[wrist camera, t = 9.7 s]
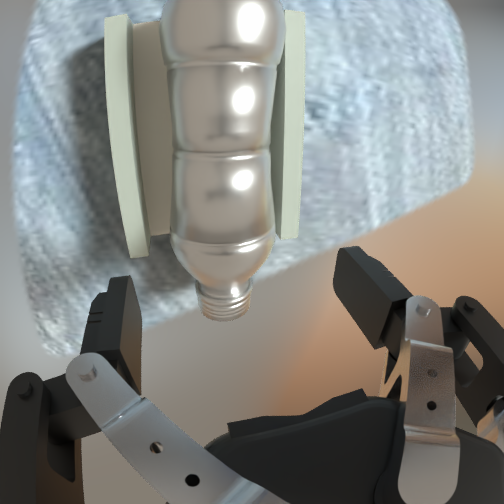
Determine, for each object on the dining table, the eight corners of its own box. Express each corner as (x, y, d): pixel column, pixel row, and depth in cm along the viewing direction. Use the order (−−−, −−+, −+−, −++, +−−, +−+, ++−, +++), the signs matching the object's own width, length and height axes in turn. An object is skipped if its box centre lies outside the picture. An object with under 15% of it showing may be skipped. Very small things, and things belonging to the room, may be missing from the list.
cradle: (117, 30, 14) (104, 18, 11) (281, 23, 16) (305, 12, 13) (136, 230, 22) (130, 258, 18) (278, 214, 24) (297, 237, 20)
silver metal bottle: (258, -45, 7) (247, 351, 18) (302, -1, 13) (283, 289, 23) (133, -15, 10) (158, 318, 20) (205, 6, 15) (207, 268, 25)
